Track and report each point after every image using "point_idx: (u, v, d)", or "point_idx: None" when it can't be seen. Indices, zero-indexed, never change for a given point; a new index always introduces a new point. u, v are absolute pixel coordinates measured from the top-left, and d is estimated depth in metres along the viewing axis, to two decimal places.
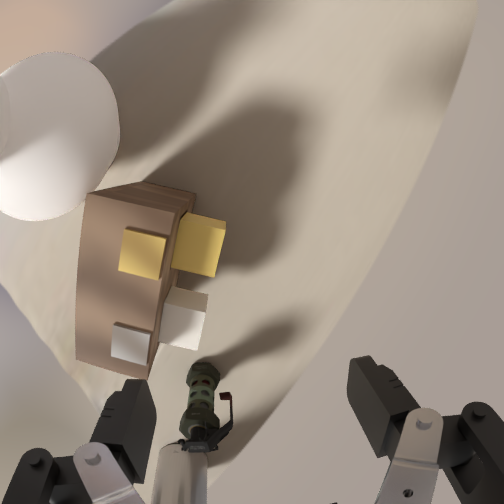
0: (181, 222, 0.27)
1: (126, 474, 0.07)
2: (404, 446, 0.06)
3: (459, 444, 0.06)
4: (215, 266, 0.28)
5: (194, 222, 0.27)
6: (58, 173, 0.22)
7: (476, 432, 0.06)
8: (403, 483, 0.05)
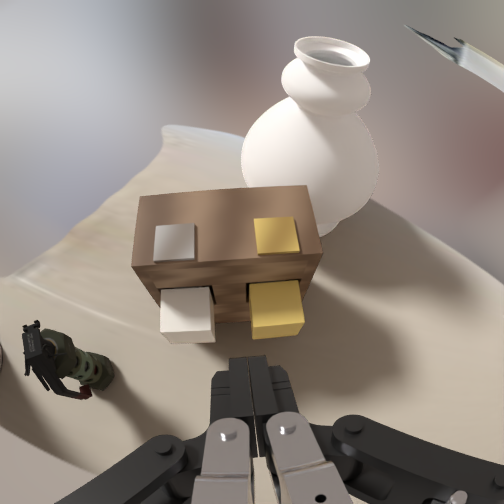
0: (295, 281, 0.28)
1: None
2: (282, 457, 0.07)
3: (329, 458, 0.07)
4: (265, 324, 0.26)
5: None
6: (303, 168, 0.32)
7: (362, 448, 0.07)
8: (309, 492, 0.05)
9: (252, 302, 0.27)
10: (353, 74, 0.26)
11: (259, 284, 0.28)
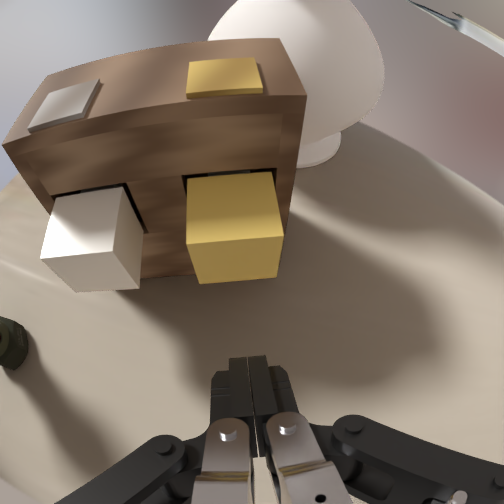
0: (267, 173, 0.16)
1: None
2: (282, 456, 0.07)
3: (329, 458, 0.07)
4: (209, 240, 0.14)
5: None
6: None
7: (362, 448, 0.07)
8: (309, 492, 0.05)
9: (189, 204, 0.15)
10: None
11: (204, 178, 0.16)
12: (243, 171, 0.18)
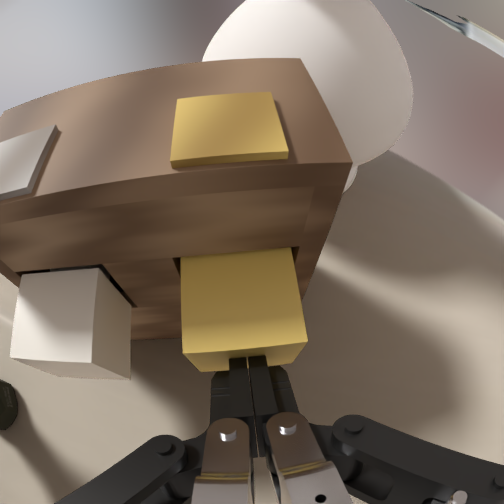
0: None
1: None
2: (282, 456, 0.07)
3: (329, 458, 0.07)
4: (211, 348, 0.11)
5: None
6: None
7: (362, 448, 0.07)
8: (309, 492, 0.05)
9: (184, 295, 0.12)
10: None
11: None
12: None
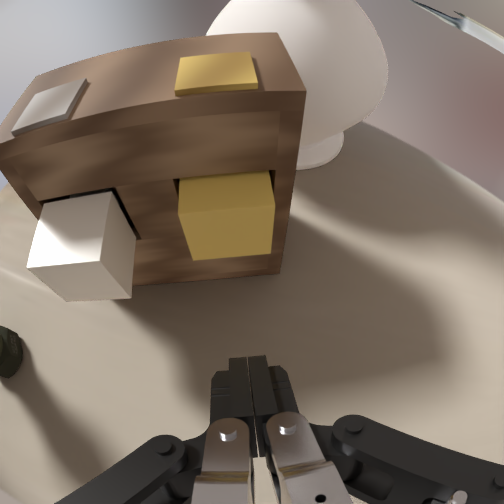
0: None
1: None
2: (282, 456, 0.07)
3: (329, 458, 0.07)
4: (200, 210, 0.14)
5: None
6: None
7: (362, 448, 0.07)
8: (309, 492, 0.05)
9: (182, 178, 0.15)
10: None
11: None
12: None
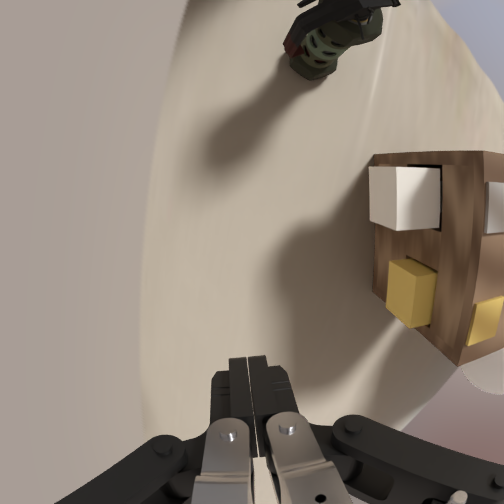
0: None
1: None
2: (282, 456, 0.07)
3: (329, 458, 0.07)
4: (415, 289, 0.22)
5: None
6: None
7: (362, 448, 0.07)
8: (309, 492, 0.05)
9: (437, 274, 0.22)
10: None
11: None
12: None
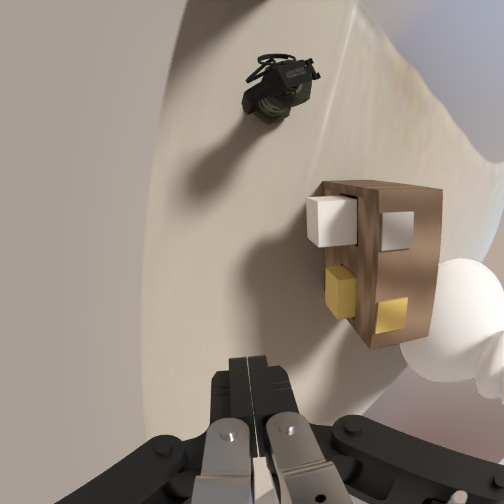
0: None
1: None
2: (282, 456, 0.07)
3: (329, 458, 0.07)
4: (339, 289, 0.31)
5: None
6: (444, 326, 0.31)
7: (362, 448, 0.07)
8: (309, 492, 0.05)
9: None
10: (503, 391, 0.23)
11: None
12: None
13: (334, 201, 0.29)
